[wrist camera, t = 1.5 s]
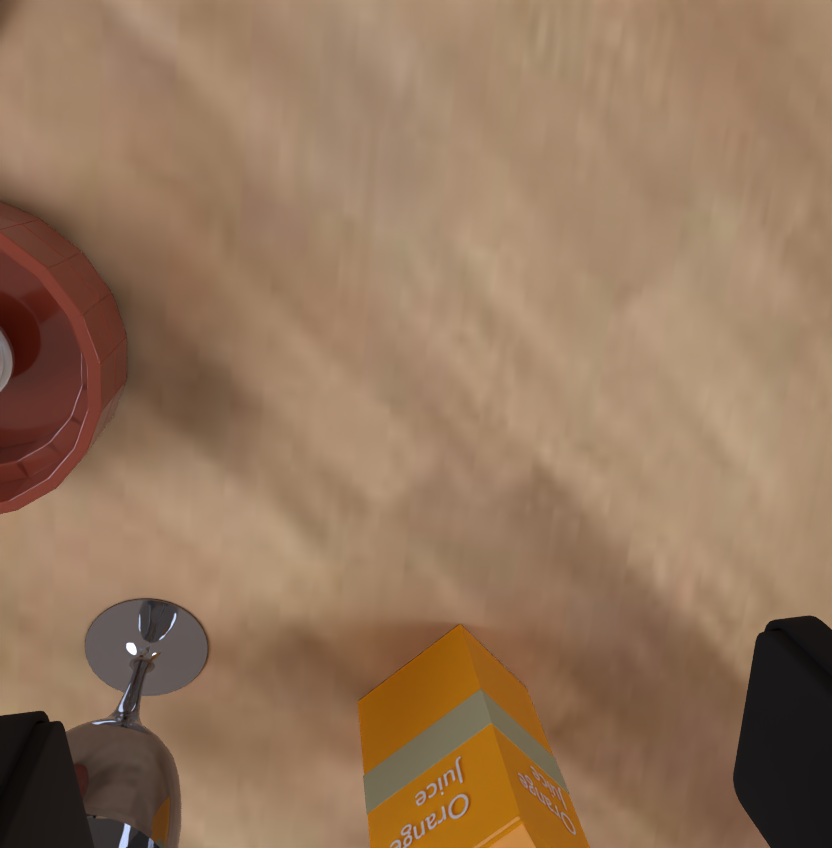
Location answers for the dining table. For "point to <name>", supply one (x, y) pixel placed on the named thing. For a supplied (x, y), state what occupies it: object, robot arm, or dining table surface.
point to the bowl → (53, 357)
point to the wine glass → (135, 723)
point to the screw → (5, 359)
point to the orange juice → (460, 757)
